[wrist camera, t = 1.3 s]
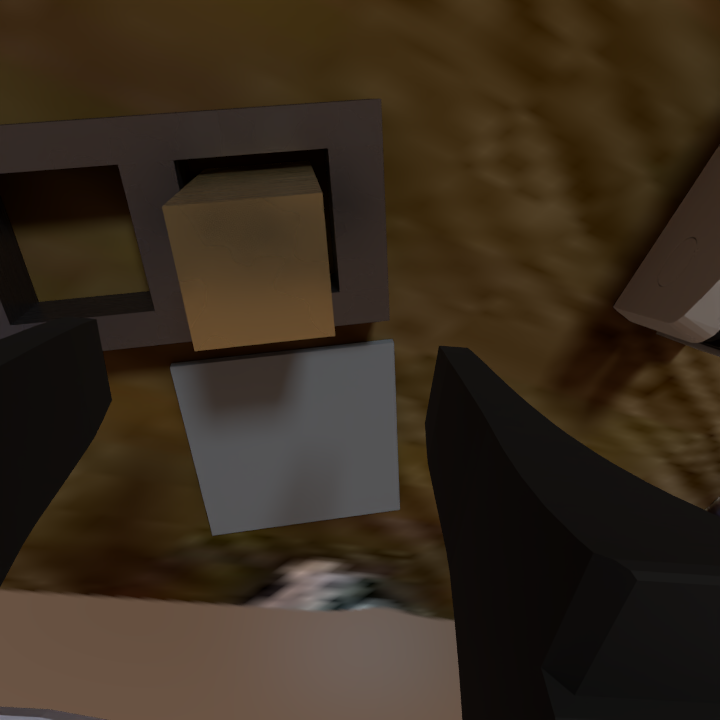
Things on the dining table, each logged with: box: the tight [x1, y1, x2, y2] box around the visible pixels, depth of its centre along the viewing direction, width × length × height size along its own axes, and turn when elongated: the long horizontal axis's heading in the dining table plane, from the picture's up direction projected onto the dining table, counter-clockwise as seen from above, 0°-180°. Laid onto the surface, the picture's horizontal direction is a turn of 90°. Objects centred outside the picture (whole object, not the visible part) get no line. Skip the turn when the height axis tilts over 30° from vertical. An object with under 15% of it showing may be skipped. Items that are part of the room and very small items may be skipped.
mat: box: [170, 339, 400, 535], centre depth 26 cm, size 10×10×1 cm
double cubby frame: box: [0, 99, 389, 351], centre depth 20 cm, size 16×8×2 cm, turn 94°
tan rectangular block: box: [162, 161, 335, 351], centre depth 18 cm, size 4×4×8 cm
